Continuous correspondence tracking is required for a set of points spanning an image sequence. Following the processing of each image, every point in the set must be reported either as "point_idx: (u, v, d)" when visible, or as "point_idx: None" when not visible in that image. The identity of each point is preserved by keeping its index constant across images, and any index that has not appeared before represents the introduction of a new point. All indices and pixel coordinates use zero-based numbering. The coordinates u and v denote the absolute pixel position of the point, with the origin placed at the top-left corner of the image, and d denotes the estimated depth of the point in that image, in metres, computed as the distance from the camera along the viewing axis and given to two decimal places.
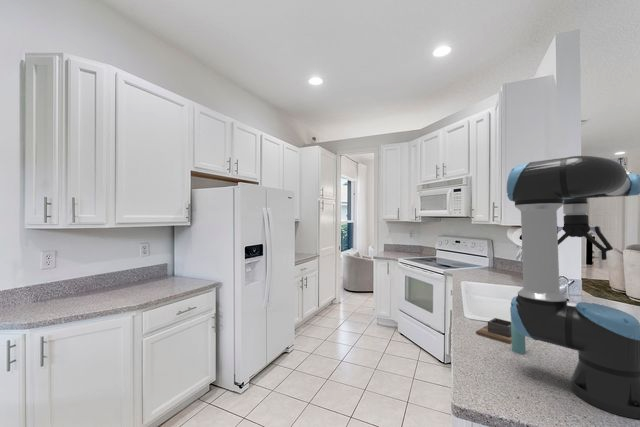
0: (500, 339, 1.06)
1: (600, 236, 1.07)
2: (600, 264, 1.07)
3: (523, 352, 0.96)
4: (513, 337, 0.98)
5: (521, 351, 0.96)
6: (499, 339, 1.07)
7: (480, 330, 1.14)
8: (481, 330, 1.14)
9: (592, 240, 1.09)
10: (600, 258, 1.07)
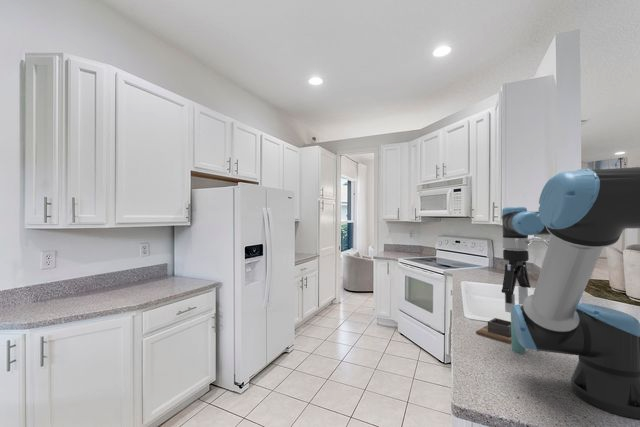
0: (500, 339, 1.06)
1: None
2: None
3: (523, 352, 0.96)
4: (513, 337, 0.98)
5: (521, 351, 0.96)
6: (499, 339, 1.07)
7: (480, 330, 1.14)
8: (481, 330, 1.14)
9: None
10: (505, 300, 0.96)
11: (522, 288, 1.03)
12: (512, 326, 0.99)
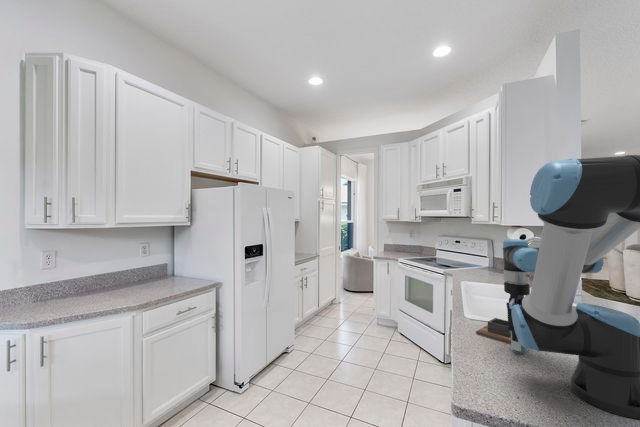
0: (500, 339, 1.06)
1: None
2: None
3: (523, 352, 0.96)
4: None
5: (521, 351, 0.96)
6: (499, 339, 1.07)
7: (480, 330, 1.14)
8: (481, 330, 1.14)
9: None
10: (511, 337, 0.98)
11: None
12: None
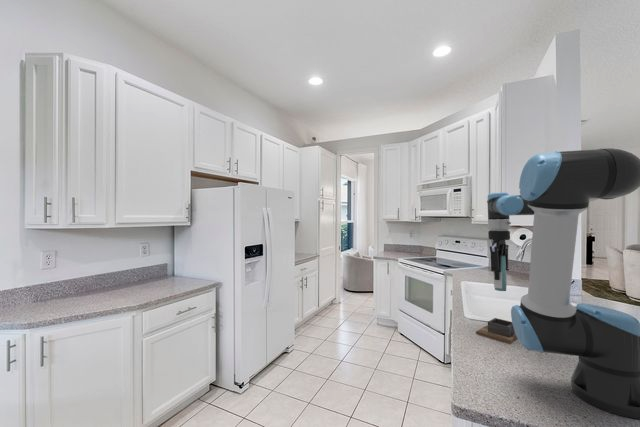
0: (500, 339, 1.06)
1: None
2: None
3: (504, 290, 1.11)
4: None
5: (502, 289, 1.11)
6: (499, 339, 1.07)
7: (480, 330, 1.14)
8: (481, 330, 1.14)
9: None
10: (494, 277, 1.13)
11: None
12: None
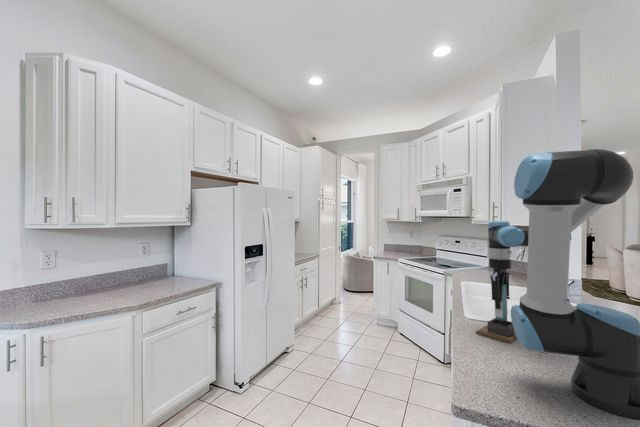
0: (500, 339, 1.06)
1: None
2: None
3: (505, 319, 1.11)
4: None
5: (503, 318, 1.11)
6: (499, 339, 1.07)
7: (480, 330, 1.14)
8: (481, 330, 1.14)
9: None
10: (495, 306, 1.12)
11: None
12: None
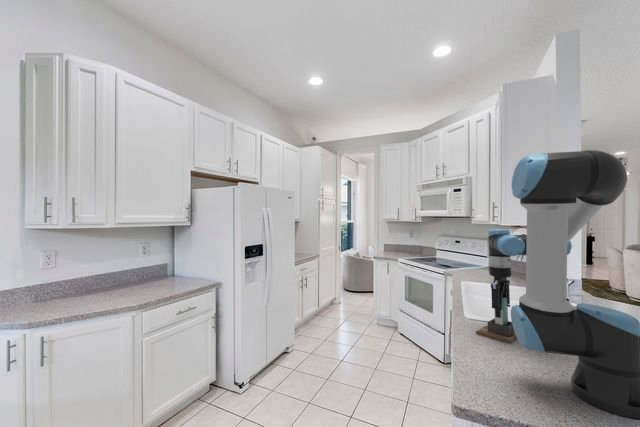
0: (500, 339, 1.06)
1: None
2: None
3: None
4: None
5: None
6: (499, 339, 1.07)
7: (480, 330, 1.14)
8: (481, 330, 1.14)
9: None
10: (495, 314, 1.12)
11: None
12: None
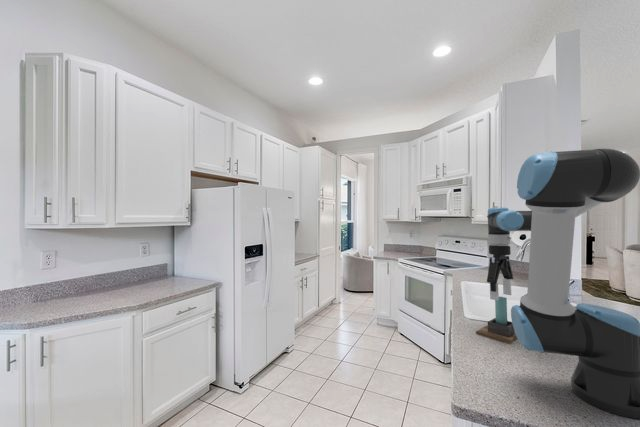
0: (500, 339, 1.06)
1: None
2: None
3: None
4: (497, 320, 1.12)
5: None
6: (499, 339, 1.07)
7: (480, 330, 1.14)
8: (481, 330, 1.14)
9: None
10: (490, 289, 1.09)
11: (506, 280, 1.17)
12: (496, 310, 1.12)
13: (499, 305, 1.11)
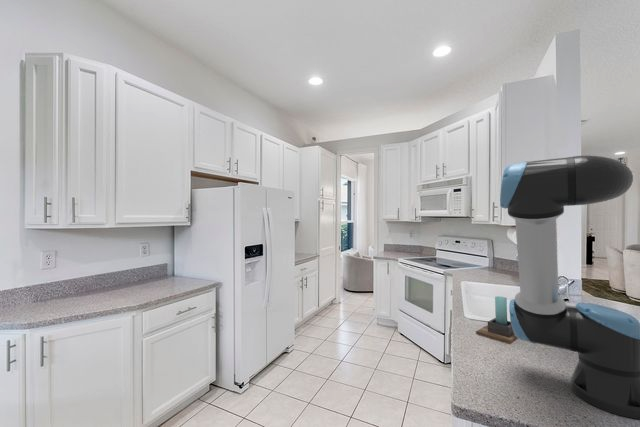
0: (500, 339, 1.06)
1: None
2: None
3: None
4: (497, 320, 1.12)
5: None
6: (499, 339, 1.07)
7: (480, 330, 1.14)
8: (481, 330, 1.14)
9: None
10: None
11: None
12: (496, 310, 1.12)
13: (499, 305, 1.11)
